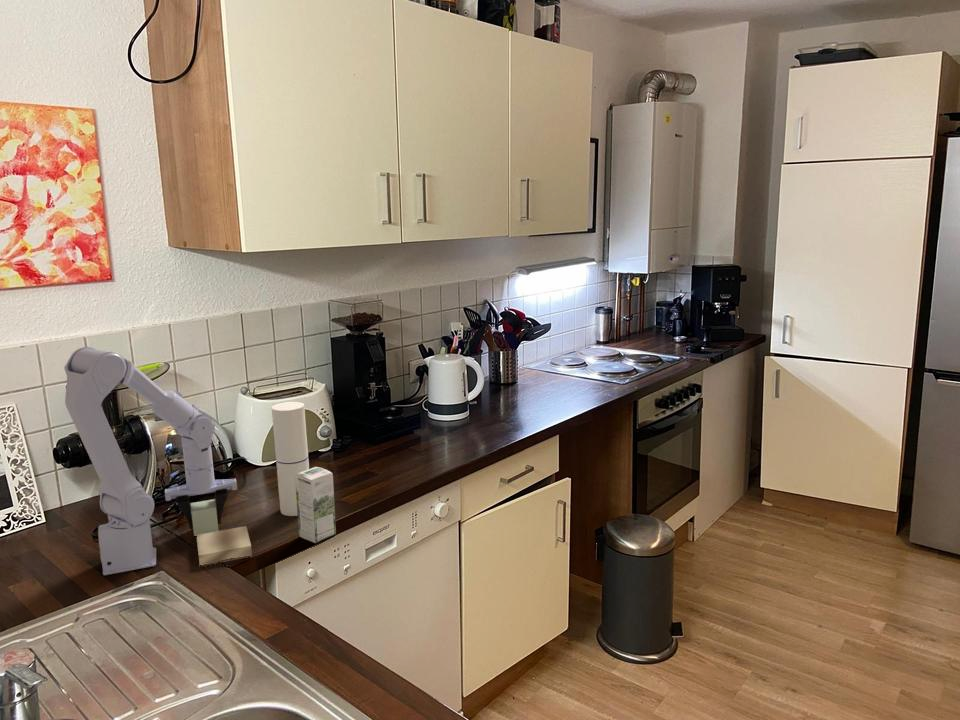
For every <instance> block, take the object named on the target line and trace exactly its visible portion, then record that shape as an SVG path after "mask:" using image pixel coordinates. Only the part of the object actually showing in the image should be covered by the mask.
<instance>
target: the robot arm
mask: <svg viewBox="0 0 960 720" xmlns="http://www.w3.org/2000/svg"><path fill="white" fill-rule="evenodd" d="M64 371H65V374H66V386H65V387H66V388H65V401H64V403H65V406H66V409H67V412H68V414H69V415H70V418H71V420H72V422H73V424H74V426H75V428H76V432H77V433H78V435H79V437H80V439H81V441H82V444H83V446H84V448H85V450H86V452H87V454H88V456H89V460H90V461H91V463H92V465H93V467H94V470H95V472H96V474H97V477H98V478H99V480H100V483H99V485H98V486H97V491H98V494H99V506H100V510H101V511H102V512H103V513H104V514H106V515H107V519H108V522H107V523H104V524H100V525H98V529H97V532H98V533H97V534H98V535H97V536H98V546H99V547H98V548H99V555H100V557H99V558H100V562H101V566H102V575H103V576H109V575H114V574H119V573H125V572H130V571H134V570H139V569H145V568H150V567H156V565H157V547H153V538H152V530H151V529H152V528H151V523H150V521H151V520H150V519H151V516H152V515H153V513H154V510H155V500H154V498H153V497H152V495H151V494H149V493H148V492H146V491H145V489H144V487H143V485H142V484H141V482H139V481H138V480H137V479H136V478H135V477H134V475H132V473H131V471H130V469H129V466H128V464H127V462H126V460H125V457H124V455H123V452H122V450H121V448H120V446H119V444H118V442H117V439H116V438H115V435H114V433H113V430H112V428H111V426H110V423H109V421H108V419H107V417H106V414H105V412H104V409H103V407H102V403H103V401H104V399H105V398H106V397H107V396H109V394H110V393H111V392H112V391H113V390H114V389H115V388H116V386H117V385H119V384H121V385H124V386H126V387H127V388H128V389H130V390H132V392H135V393H136V394H137V395H139V396H140V397H142V398H143V399H145V400H146V401H147V402H149V403H150V404H151V410H152V413H153V414H155V415H156V416H157V417H159V418H160V419H161V420H162V421H164V422H166V424H168V425H170V426H171V427H172V429H173V431H174V433H175V434H176V435H178V436H181V438H180V439H181V446H182V447H181V448H182V456H183V463H184V472H185V475H184V476H185V480H186V481H185V482H186V483H185V484H182V485H179V486H174V487H170V488H165V489H164V497H165V501H166V502H169V501H172V500H173V499H176V504H177V506H178V508H179V509H180V510H181V512H182V513H183V515H184V516H185V518H186V520H187V523H188V526H189V529H190V530H193V522H192V513H191V502H190V497H191V496H192V497H193V496H198V495H204V494H206V495H207V494H211V493H214V499H215V504H216V511H217V521H218V525H221V524H222V514H223V510H224V507H225V504H226V501H227V499H228V496H229V495H228V491H230V490H232V491H237V490H238V484H237V483H238V482H237V478H228V479H227V478H226V479H224V478H223V479H215V472H214V470H215V469H214V463H213V451H212V443H213V440H212V437H213V434H214V433H215V429H216V423H214V422H213V421H212V418H211V417H210V415H207V414H205V413H202V412H199V410H198V408H199V407H198V406H196V404H195V405H194V404H191V403H189V402H188V401H187V400H185V399H184V398H183V396H184V395H183V393H181V392H180V391H176V390H171V389H169V390H163V389H162V388H161V387H159V386H158V384H156V383H155V382H154V381H153V380H151V379H150V377H148V376H147V375H146V374H145V373H144V372H143V371H141V370H140V369H139V368H138V367H137V365H135V364H134V363H133V362H132V361H131V360H129V359H126V358H124V357H123V356H122V355H121V354H120V353H119V352H116V351H113V350H112V351H111V350H110V351H109V350H108V351H106V350H101V349H96V348H93V347H91V346H83V347H80V348H78V349H76V350H75V351H73V353H71V355H70V357H69V359H68V360H67V362H66V363H65V366H64Z"/></svg>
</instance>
